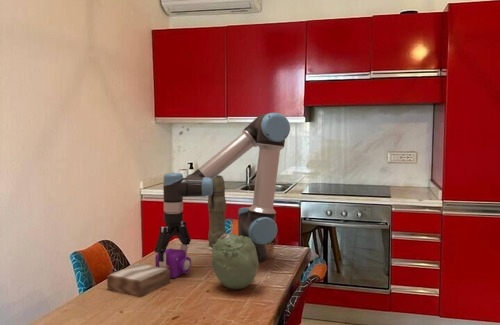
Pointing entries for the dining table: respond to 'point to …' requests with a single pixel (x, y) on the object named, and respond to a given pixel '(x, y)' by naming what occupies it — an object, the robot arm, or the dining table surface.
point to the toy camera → (175, 262)
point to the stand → (138, 279)
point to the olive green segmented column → (216, 211)
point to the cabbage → (234, 260)
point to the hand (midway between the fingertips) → (173, 264)
